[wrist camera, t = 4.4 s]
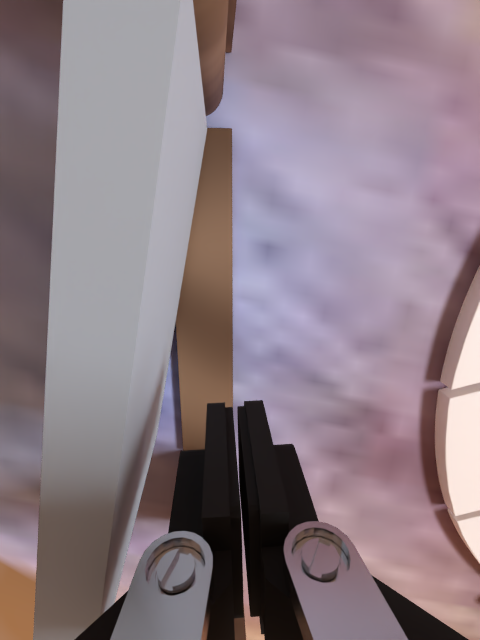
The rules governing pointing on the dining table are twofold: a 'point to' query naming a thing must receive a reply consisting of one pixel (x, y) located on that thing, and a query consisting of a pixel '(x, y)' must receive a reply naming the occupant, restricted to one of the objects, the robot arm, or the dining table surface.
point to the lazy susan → (461, 422)
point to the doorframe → (209, 251)
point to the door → (112, 286)
